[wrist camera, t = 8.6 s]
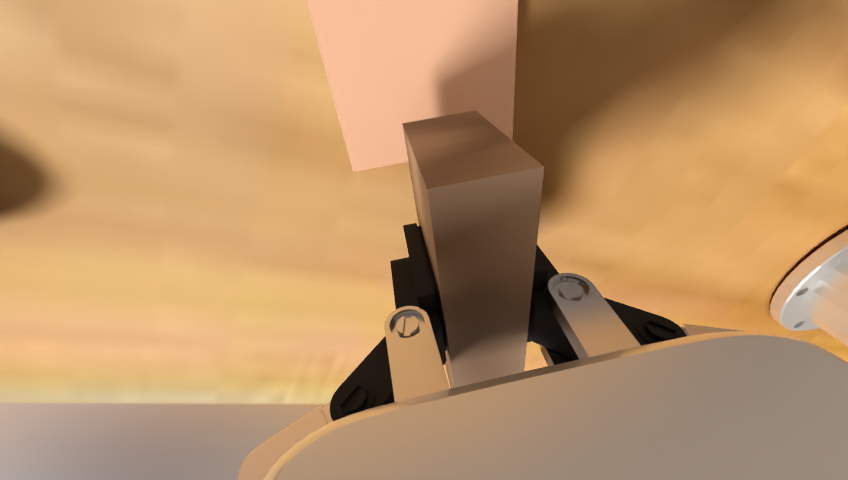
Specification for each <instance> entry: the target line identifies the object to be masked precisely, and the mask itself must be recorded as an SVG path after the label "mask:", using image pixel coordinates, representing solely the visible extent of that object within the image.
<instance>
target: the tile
mask: <svg viewBox="0 0 848 480" xmlns="http://www.w3.org/2000/svg"><path fill="white" fill-rule="evenodd" d="M306 2H307V5H308V9H309V12H310V16H311V20H312V23H313V27H314V31H315V34H316V38H317V42H318V45H319V49H320V52H321V56H322V60H323V63H324V67H325V71H326V74H327V78H328V82H329V85H330V89H331V93H332V96H333V100H334V103H335V107H336V111H337V114H338V118H339V122H340V125H341V129H342V133H343V136H344V140H345V143H346V147H347V151H348V154H349V158H350V162H351V165H352V169H353V172H355V171H360V170H366V169H371V168H377V167H382V166H388V165H393V164H399V163H404V162H409V161H408V155H407V149H406V143H405V137H404V131H403V125H402V123H407V122H413V121H418V120H424V119H430V118H435V117H441V116H447V115H452V114H458V113H463V112H469V111H475V110H476V111H477V112H478V113H479V114H481V115H482V116H483V117H484V118H485V119H487V120H488V121H489V122H490V123H492V124H493V125H494V126H495V127H496V128H498V129H499V130H500V131H501V132H502V133H504V134H505V135H506V136H507V137H509V138H510V139H511V140H512V141H513V119H514V94H515V68H516V42H517V17H518V0H306Z"/></svg>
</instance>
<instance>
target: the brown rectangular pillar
mask: <svg viewBox="0 0 848 480" xmlns="http://www.w3.org/2000/svg"><path fill="white" fill-rule="evenodd" d="M402 125H403V131H404V137H405V143H406V149H407V155H408V161H409V167H410V173H411V179H412V185H413V191H414V197H415V204H416V210H417V216H418V222H419V226H421V229H422V233H423V236H424V240H425V243H426V247H427V250H428V254H429V258H430V261H431V265H432V268H433V272H434V276H435V279H436V283H437V286H438V290H439V295H440V301H441V309H442V316H443V323H444V330H445V337H446V344H447V351H445V353H446V360H447V361H446V363H445V365H446V370H447V374H448V378H449V382H450V386H451V388H456V387H460V386H464V385H469V384H473V383H477V382H482V381H486V380H490V379H495V378H499V377H503V376H508V375H512V374H517V373H521V372H524V366H525V356H526V346H527V336H528V326H529V316H530V306H531V296H532V286H533V276H534V266H535V256H536V246H537V236H538V225H539V215H540V205H541V195H542V185H543V175H544V166H543V165H542V164H540V163H539V162H538V161H537V160H535V159H534V158H533V157H532V156H531V155H529V154H528V153H527V152H526V151H524V150H523V149H522V148H521V147H520V146H518V145H517V144H516V143H515V142H513V141H512V140H511V139H510V138H509V137H507V136H506V135H505V134H504V133H502V132H501V131H500V130H499V129H498V128H496V127H495V126H494V125H493V124H492V123H490V122H489V121H488V120H487V119H485V118H484V117H483V116H482V115H481V114H479V113H478V112H477V111H476V110H475V111H469V112H463V113H458V114H452V115H447V116H441V117H435V118H430V119H424V120H418V121H413V122H407V123H402Z"/></svg>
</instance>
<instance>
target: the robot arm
mask: <svg viewBox="0 0 848 480" xmlns="http://www.w3.org/2000/svg"><path fill="white" fill-rule="evenodd" d="M403 227H404V233H405V238H406V243H407V248H408V253H409V257H408V258H403V259H398V260H393V261H391V271H392V279H393V288H394V296H395V305H396V310H395V311H393V312H392V313H391V314H390V315H389V316H388V317H387V320H386V322H385V335H386V336H385V337H384V338H383V339H382V340H381V342H380V343H379V344H378V345H377V346H376V347H375V348H374V349H373V350H372V351H371V353H370V354H369V355H368V356H367V357H366V358H365V359H364V360H363V361H362V362H361V364H360V365H359V366H358V367H357V368H356V369H355V370H354V371H353V372H352V374H351V375H350V376H349V377H348V378H347V379H346V380H345V381H344V382H343V383H342V385H341V386H340V387H339V388H338V389H337V391H336V392H335V393H334V395H333V397H332V400H331V402H330V403H328V404H327V405H325V406H324V407H322V408H320V406H318V407H316V408H315V409H313V410H312V411H310V412H309V413H307V414H305V415H304V416H303V417H301V418H300V419H298V420H296V421H295V422H293V423H292V424H290V425H289V426H287V427H286V428H284V429H283V430H281V431H280V432H278V433H277V434H275V435H274V436H272V437H271V438H269V439H268V440H266V441H265V442H263V443H262V444H260V445H259V446H257V447H256V448H255V449H254V450H253V451H251V452H250V453H249V454H248V456H247V457H246V458H245V460H244V461H243V463H242V465H241V468H240V470H239V473H238V480H848V362H846V361H845V360H843V359H841V358H840V357H838V356H836V355H834V354H833V353H831V352H829V351H827V350H825V349H823V348H821V347H819V346H817V345H815V344H813V343H810V342H807V341H804V340H801V339H797V338H793V337H789V336H784V335H778V334H770V333H760V332H747V331H738V330H730V329H722V328H714V327H706V326H697V325H689V324H684V325H683V326H682V327H679V326H678V325H677V324H675V323H674V322H672V321H671V320H669V319H666V318H664V317H662V316H658V315H655V314H652V313H649V312H646V311H643V310H640V309H637V308H634V307H631V306H628V305H625V304H622V303H619V302H615V301H612V300H609V299H606V298H603V296H602V295H601V294H600V293H599V291H598V290H597V289H596V287H595V286H594V285H593V284H592V283H591V282H590V281H589V280H588V279H586V278H584V277H583V276H580V275H577V274H572V273H561V274H559V273H558V272H557V270H556V269H555V268H554V266H553V265H552V264H551V262H550V261H549V260H548V259H547V257H546V256H545V255H544V253H543V252H542V251H541V249H540V248H539V247H538V245H537V246H536V256H535V266H534V276H533V286H532V296H531V306H530V316H529V326H528V336H527V342H530V341H533V342H535V343H537V344H540V349H541V352H542V354H543V356H544V358H545V360H546V362H547V364H548V367H543V368H539V369H534V370H530V371H525V372H521V373H517V374H512V375H508V376H503V377H499V378H495V379H490V380H486V381H482V382H477V383H473V384H469V385H464V386H460V387H456V388H451V389H450V388H449V385H448V381H447V378H446V374H445V371H444V367H443V365H444V364H445V363H446V361H447V360H446V353H445V351H447V344H446V337H445V330H444V323H443V316H442V309H441V301H440V295H439V290H438V286H437V283H436V279H435V276H434V272H433V268H432V265H431V261H430V258H429V254H428V250H427V247H426V243H425V240H424V236H423V233H422V229H421V226H417V224H416V223H414V224H409V225H404V226H403ZM770 314H771V316H772V318H773V319H774V320H775V321H777V322H778V323H779V324H781V325H782V326H783V327H785V328H787V329H789V330H797V331H805V330H813V329H818V328H821V329H823V330H824V331H826V332H827V333H828V334H830V335H831V336H833V337H834V338H836V339H837V340H839V341H840V342H842V343H843V344H845V345H846V346H848V229H847V230H845V231H844V232H842V233H841V234H839V235H837V236H836V237H834V238H833V239H831V240H830V241H828V242H827V243H825V244H824V245H823V246H821V247H820V248H819V249H817V250H816V251H815V252H813V253H812V254H811V255H810V256H808V257H807V258H806V259H805V260H804V261H803V262H801V263H800V264H799V265H798V266H797V267H796V268H795V269H794V270H793V271H792V272H791V273H790V274H789V275H788V276H787V277H786V279H785V280H784V281H783V282H782V284H781V285H780V286H779V287H778V289H777V291H776V292H775V294H774V296H773V298H772V301H771V304H770Z"/></svg>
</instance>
